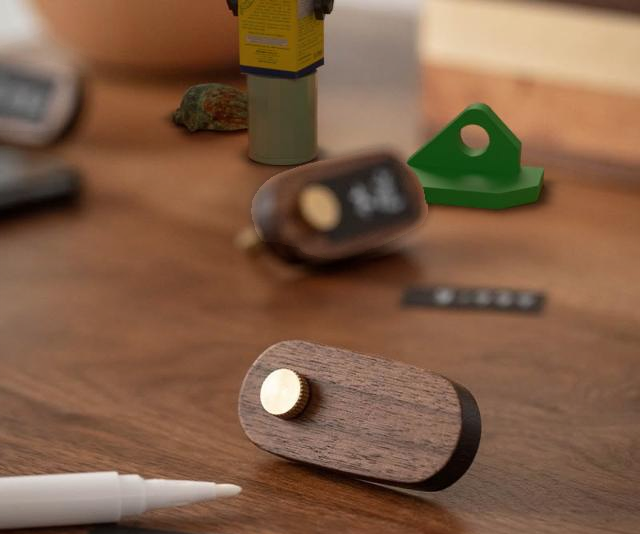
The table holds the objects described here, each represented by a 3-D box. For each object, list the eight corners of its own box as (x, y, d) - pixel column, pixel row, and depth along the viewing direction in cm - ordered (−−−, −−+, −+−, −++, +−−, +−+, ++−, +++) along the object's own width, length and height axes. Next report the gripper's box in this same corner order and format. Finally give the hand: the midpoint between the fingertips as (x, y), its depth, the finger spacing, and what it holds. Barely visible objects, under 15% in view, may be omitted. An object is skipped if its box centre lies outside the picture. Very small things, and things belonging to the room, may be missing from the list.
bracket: (391, 199, 111) (393, 121, 108) (409, 171, 118) (411, 97, 115) (532, 212, 108) (538, 132, 106) (543, 183, 115) (549, 107, 112)
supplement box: (268, 59, 123) (266, -61, 118) (325, 66, 121) (325, -56, 116) (237, 73, 118) (233, -51, 113) (296, 81, 116) (295, -46, 111)
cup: (241, 163, 120) (239, 77, 117) (257, 142, 126) (255, 60, 123) (309, 167, 119) (309, 81, 116) (322, 146, 125) (323, 63, 121)
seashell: (283, 74, 132) (221, 97, 125) (286, 114, 134) (225, 139, 127) (207, 68, 138) (143, 89, 130) (211, 107, 140) (148, 129, 132)
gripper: (219, -170, 119) (189, -15, 113) (376, -167, 116) (352, -8, 111) (235, -116, 126) (207, 33, 120) (383, -112, 123) (361, 40, 118)
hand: (277, 13), depth 116 cm, fingers closed on supplement box, 7 cm apart
